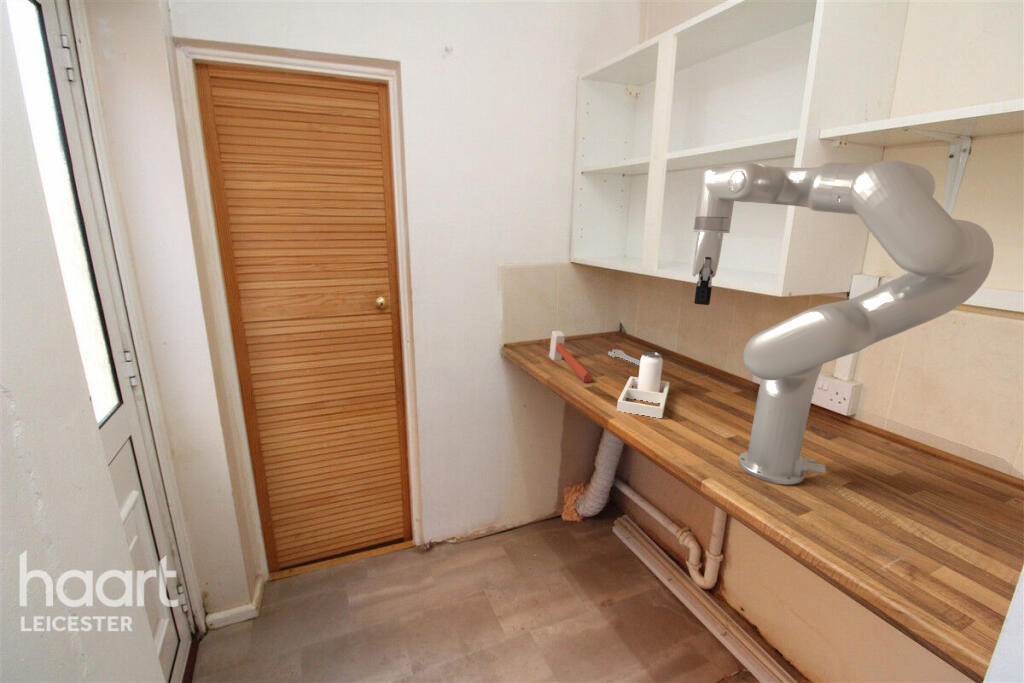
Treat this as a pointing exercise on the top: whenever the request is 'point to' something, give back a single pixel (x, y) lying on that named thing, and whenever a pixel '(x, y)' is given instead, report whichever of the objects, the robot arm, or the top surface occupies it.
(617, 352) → the adjustable wrench
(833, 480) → the top surface
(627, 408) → the caddy
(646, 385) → the can
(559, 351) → the mallet
